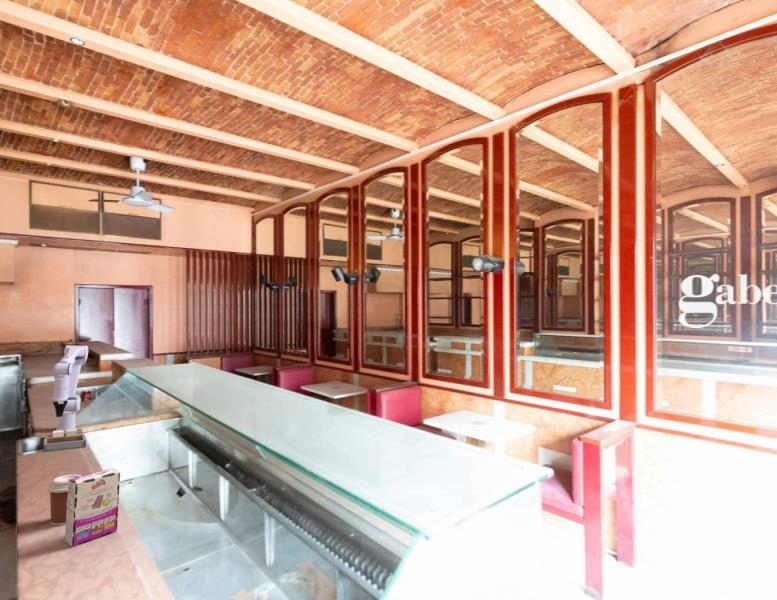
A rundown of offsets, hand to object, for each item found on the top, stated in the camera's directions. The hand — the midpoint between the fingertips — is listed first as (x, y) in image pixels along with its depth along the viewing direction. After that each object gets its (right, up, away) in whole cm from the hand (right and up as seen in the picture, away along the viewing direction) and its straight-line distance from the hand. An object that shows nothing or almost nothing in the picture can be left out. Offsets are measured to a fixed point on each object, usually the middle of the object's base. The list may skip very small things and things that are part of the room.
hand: (59, 416), depth 211 cm
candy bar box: (+78, -8, -93) cm, 121 cm away
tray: (+12, -10, -13) cm, 21 cm away
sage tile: (+8, -8, -3) cm, 11 cm away
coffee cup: (+64, -8, -84) cm, 106 cm away
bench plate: (+4, -10, -3) cm, 11 cm away
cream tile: (+4, -7, -6) cm, 10 cm away
